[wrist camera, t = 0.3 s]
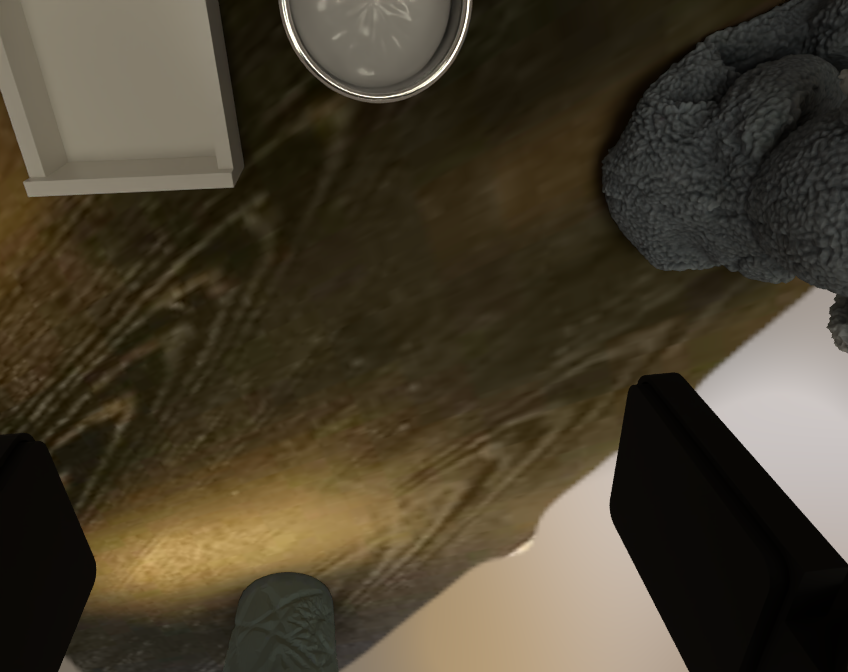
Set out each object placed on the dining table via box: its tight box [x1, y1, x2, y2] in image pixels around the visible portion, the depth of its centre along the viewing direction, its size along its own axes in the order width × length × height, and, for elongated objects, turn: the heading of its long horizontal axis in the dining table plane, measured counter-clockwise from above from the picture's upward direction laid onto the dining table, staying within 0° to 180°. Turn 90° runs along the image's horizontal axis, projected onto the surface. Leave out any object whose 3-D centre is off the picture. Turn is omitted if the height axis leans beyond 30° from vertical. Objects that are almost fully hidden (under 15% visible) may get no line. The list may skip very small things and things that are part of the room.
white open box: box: [0, 0, 244, 197], centre depth 32 cm, size 11×11×4 cm
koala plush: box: [602, 0, 848, 353], centre depth 32 cm, size 17×18×20 cm
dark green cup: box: [223, 572, 338, 672], centre depth 52 cm, size 10×10×12 cm
